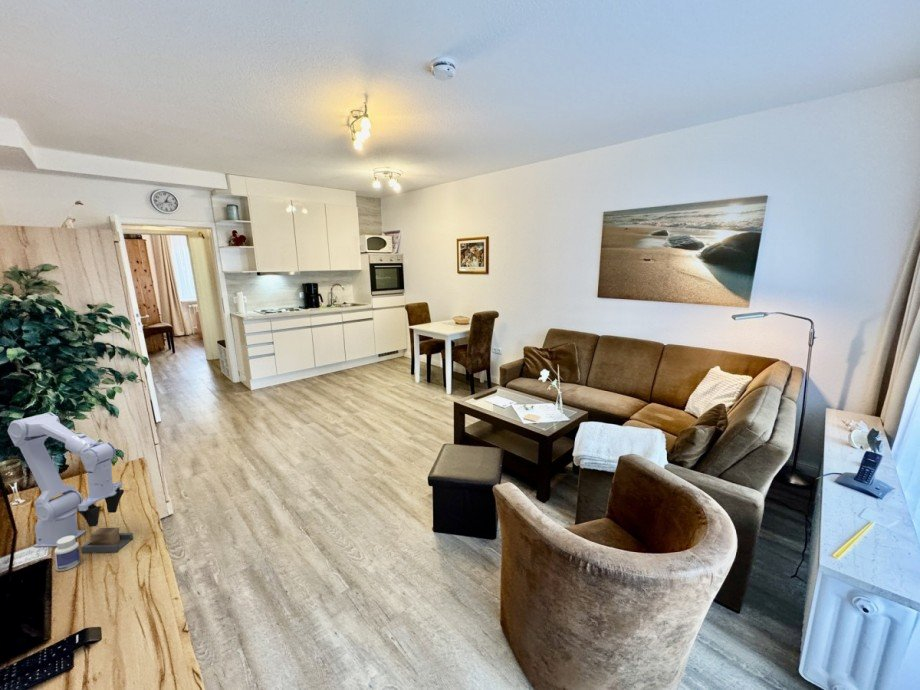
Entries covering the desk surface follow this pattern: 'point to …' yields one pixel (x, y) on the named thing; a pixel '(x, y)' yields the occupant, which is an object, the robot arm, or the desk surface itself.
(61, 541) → the pill bottle
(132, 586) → the desk surface
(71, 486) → the robot arm
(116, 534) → the walnut block
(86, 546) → the gray u-shaped channel bracket
